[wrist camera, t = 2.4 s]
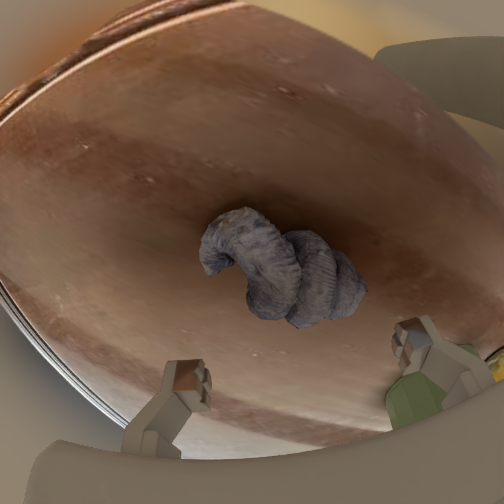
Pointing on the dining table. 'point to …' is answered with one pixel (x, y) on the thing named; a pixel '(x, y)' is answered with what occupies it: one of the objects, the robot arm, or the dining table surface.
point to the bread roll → (496, 365)
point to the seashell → (283, 269)
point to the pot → (416, 397)
